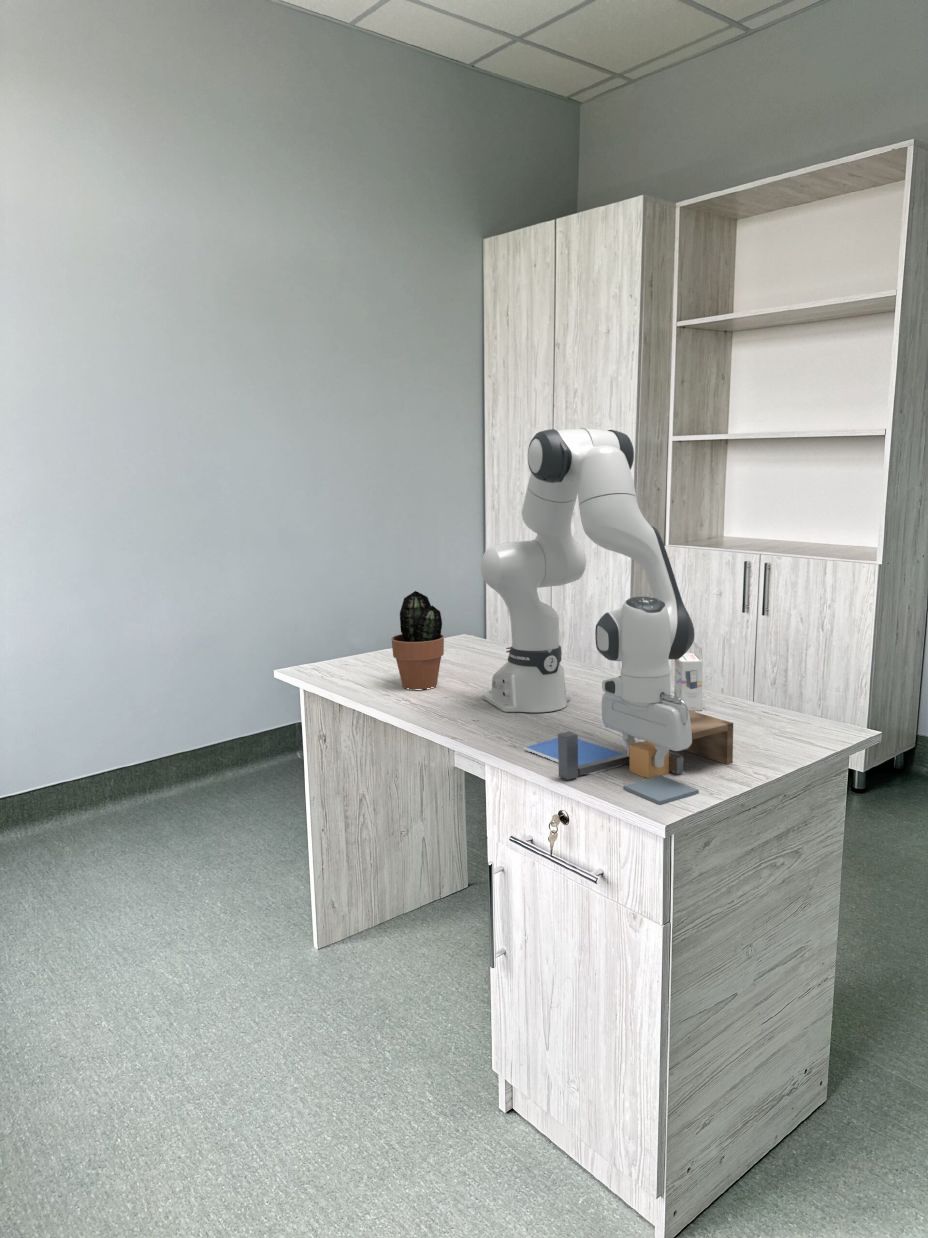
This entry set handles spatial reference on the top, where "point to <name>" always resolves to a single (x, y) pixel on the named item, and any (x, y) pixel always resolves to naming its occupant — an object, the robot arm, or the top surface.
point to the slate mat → (661, 789)
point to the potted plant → (418, 642)
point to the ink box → (689, 678)
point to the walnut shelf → (711, 737)
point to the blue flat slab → (585, 752)
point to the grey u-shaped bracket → (572, 770)
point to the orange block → (646, 760)
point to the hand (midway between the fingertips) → (645, 761)
